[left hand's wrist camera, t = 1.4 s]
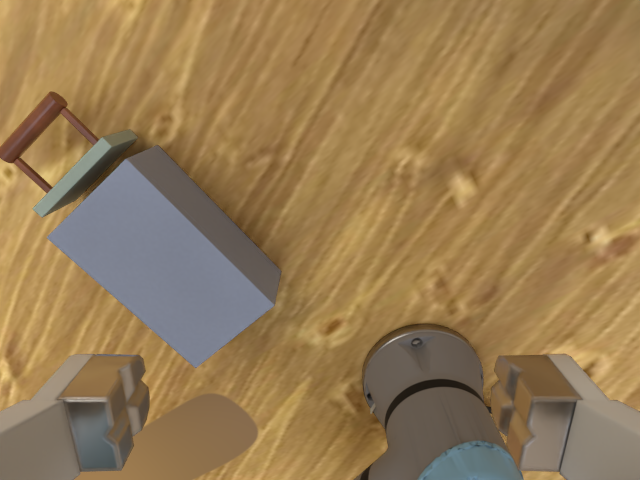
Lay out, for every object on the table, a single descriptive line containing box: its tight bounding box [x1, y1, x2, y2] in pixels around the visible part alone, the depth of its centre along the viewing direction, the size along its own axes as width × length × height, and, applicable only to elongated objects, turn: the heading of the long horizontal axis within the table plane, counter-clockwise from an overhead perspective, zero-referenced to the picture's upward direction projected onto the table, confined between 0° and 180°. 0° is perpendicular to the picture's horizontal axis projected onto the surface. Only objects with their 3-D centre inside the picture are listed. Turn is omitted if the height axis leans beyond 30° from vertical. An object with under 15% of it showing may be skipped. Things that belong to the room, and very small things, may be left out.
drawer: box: [0, 92, 138, 217], centre depth 47 cm, size 25×10×6 cm, turn 41°
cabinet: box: [47, 145, 281, 368], centre depth 49 cm, size 20×12×9 cm, turn 41°
